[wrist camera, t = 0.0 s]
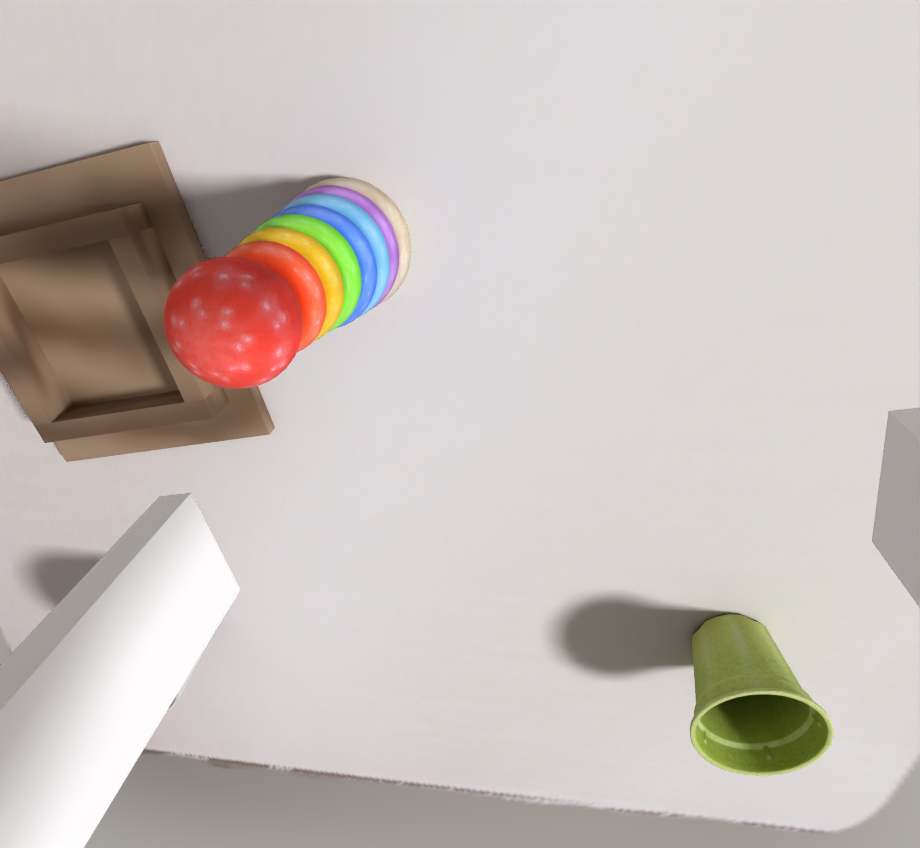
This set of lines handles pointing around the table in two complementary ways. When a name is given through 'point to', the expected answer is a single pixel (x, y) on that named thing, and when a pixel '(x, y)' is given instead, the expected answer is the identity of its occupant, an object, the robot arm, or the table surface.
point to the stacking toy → (288, 283)
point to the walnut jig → (106, 310)
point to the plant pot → (751, 702)
